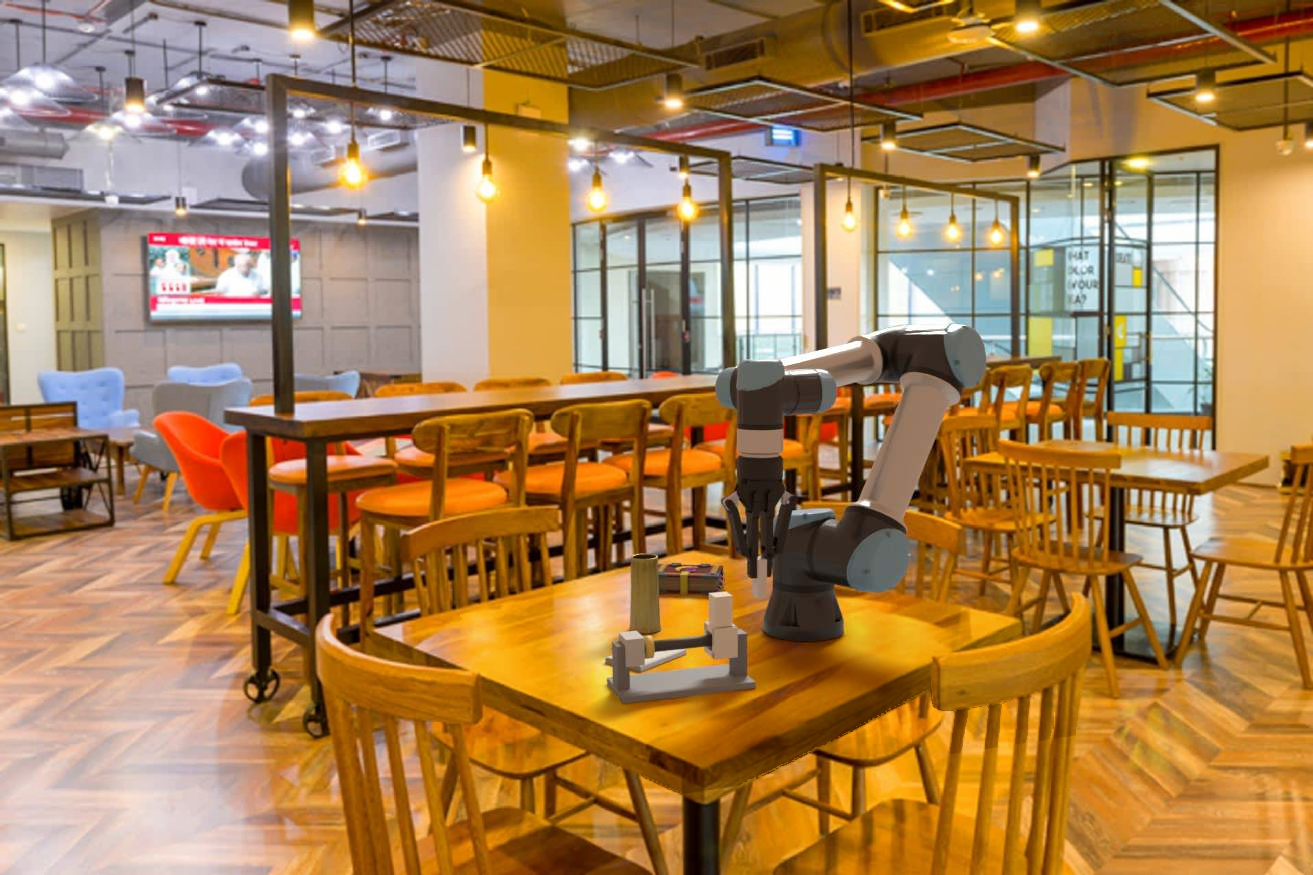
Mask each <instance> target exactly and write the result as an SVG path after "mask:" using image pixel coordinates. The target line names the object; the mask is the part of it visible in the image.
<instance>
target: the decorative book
mask: <svg viewBox="0 0 1313 875" xmlns="http://www.w3.org/2000/svg"><path fill="white" fill-rule="evenodd" d="M725 576H726V573H725V571H724V565H715V564H714V565H711V563H700V564H682V563H680V562H671V563H658V578H659V594H667V593H668V594H669V593H671V594H679V595H686V596H687V595H688V594H699V595H703V596H706V595H707V596H709V593H715V592H723V591H722V589H723V587H722V586H725V587H726V586H727V584H726V583H725V581H726V578H725Z"/></svg>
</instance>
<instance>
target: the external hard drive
mask: <svg viewBox="0 0 1313 875" xmlns="http://www.w3.org/2000/svg"><path fill="white" fill-rule="evenodd" d="M686 655H687V649H679V650H670V651H660V652H655V654H654V657H653V658H649V659H645V665H643V666H634V667H630V670H632V671H636V672H641V673H642V672H645V671H647V670H649V669H652V668H655V667H657V666H659V665H662V664H665V663H669V662H670V661H673V660H675V659H678V658H680V657H683V656H686ZM604 662H605V664H609V665H612V655H610V656H607V657H605V660H604Z"/></svg>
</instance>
